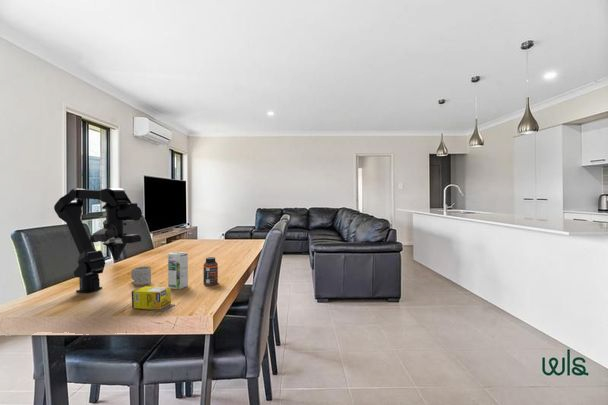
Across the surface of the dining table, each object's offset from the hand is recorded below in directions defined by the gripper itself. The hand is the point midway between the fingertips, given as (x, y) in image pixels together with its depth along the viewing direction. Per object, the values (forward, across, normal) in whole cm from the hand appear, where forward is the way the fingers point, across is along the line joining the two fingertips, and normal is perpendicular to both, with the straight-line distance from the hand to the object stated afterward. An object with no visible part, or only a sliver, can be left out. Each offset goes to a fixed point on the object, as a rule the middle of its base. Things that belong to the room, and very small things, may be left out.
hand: (116, 260), depth 124 cm
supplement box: (+10, +18, -11) cm, 24 cm away
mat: (+13, +26, -10) cm, 30 cm away
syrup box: (+13, +19, +12) cm, 26 cm away
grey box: (+13, -2, +15) cm, 20 cm away
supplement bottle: (+13, +30, +19) cm, 38 cm away
